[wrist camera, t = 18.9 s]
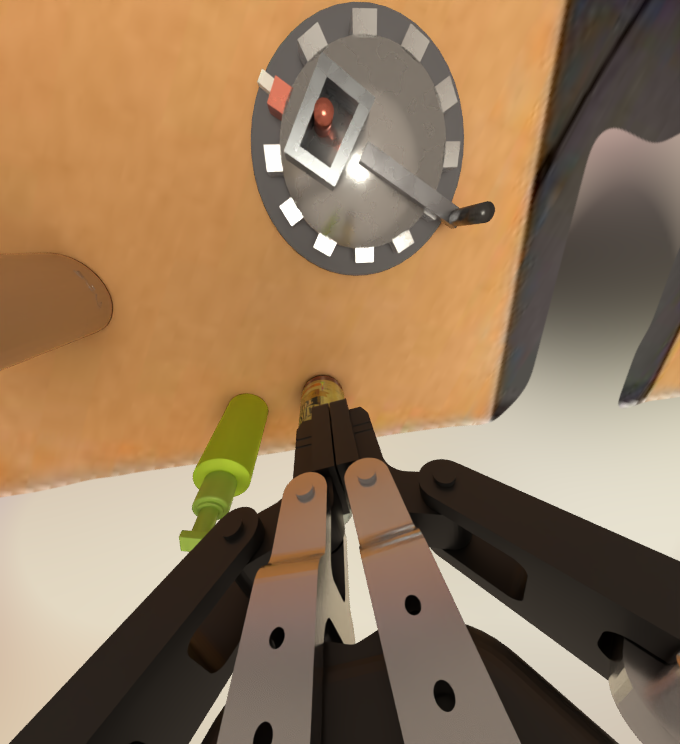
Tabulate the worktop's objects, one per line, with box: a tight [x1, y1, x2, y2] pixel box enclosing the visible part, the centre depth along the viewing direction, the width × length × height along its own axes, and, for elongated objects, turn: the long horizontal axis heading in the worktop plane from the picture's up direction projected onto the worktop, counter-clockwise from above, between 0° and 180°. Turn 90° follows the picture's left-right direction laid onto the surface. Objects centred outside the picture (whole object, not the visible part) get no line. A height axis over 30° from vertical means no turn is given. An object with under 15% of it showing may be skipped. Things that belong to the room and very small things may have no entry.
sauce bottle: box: [299, 376, 352, 524], centre depth 31 cm, size 6×6×20 cm
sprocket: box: [264, 8, 495, 263], centre depth 24 cm, size 19×21×8 cm
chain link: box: [284, 51, 376, 192], centre depth 23 cm, size 7×5×2 cm
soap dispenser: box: [179, 394, 268, 552], centre depth 31 cm, size 6×7×20 cm
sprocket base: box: [251, 2, 464, 275], centre depth 27 cm, size 22×22×2 cm
